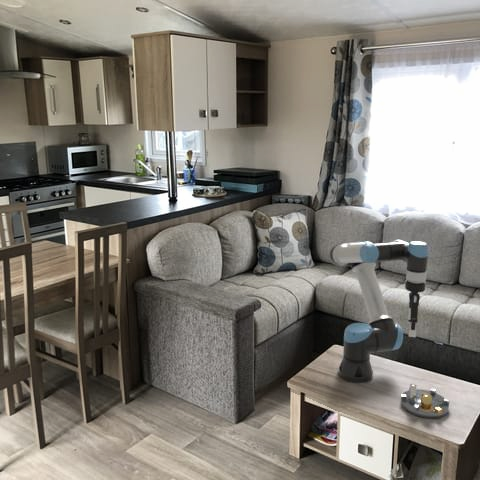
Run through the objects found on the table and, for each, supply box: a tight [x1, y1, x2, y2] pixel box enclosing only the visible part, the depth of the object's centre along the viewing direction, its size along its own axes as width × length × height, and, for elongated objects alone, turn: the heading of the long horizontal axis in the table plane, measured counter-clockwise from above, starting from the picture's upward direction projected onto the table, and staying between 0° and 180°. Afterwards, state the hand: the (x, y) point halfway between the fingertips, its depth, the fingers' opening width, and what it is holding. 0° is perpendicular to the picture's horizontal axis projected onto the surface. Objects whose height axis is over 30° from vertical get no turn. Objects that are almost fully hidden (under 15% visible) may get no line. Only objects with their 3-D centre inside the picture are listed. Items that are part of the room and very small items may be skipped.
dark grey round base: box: [400, 383, 450, 419], centre depth 201 cm, size 18×18×10 cm
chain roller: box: [420, 393, 432, 410], centre depth 197 cm, size 4×4×5 cm
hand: (411, 329), depth 206 cm, fingers open, 13 cm apart
